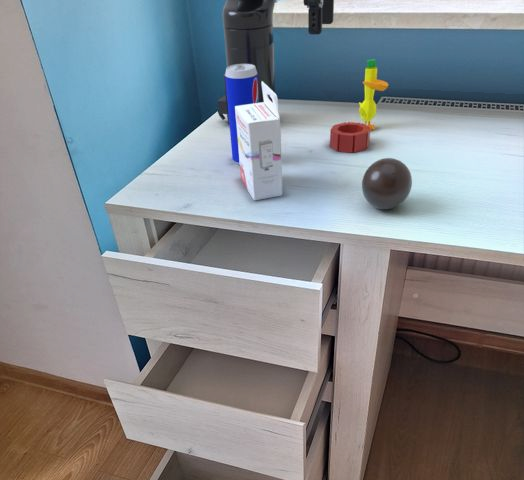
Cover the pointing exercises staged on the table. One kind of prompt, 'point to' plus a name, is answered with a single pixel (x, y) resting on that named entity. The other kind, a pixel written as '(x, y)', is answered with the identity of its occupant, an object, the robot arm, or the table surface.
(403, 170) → the ball
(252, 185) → the ink cartridge box
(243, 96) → the beverage can
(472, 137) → the table surface
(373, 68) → the toy figure
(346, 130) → the ring
